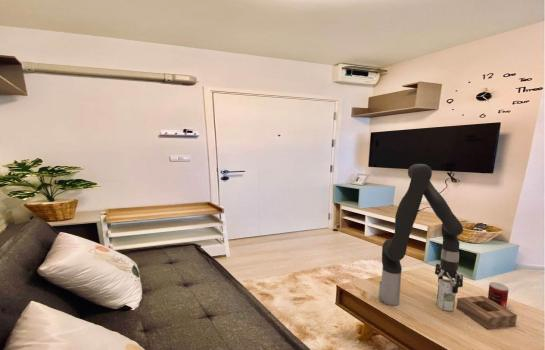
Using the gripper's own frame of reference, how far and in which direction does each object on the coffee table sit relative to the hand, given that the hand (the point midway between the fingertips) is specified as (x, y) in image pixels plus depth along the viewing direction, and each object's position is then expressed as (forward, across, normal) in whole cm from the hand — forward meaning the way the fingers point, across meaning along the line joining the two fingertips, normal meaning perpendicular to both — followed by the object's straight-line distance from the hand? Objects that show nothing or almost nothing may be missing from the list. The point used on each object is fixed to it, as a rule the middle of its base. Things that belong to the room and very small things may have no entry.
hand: (447, 288), depth 132 cm
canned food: (+11, +2, +30) cm, 32 cm away
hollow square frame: (+11, +9, +13) cm, 19 cm away
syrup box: (+11, 0, 0) cm, 11 cm away
